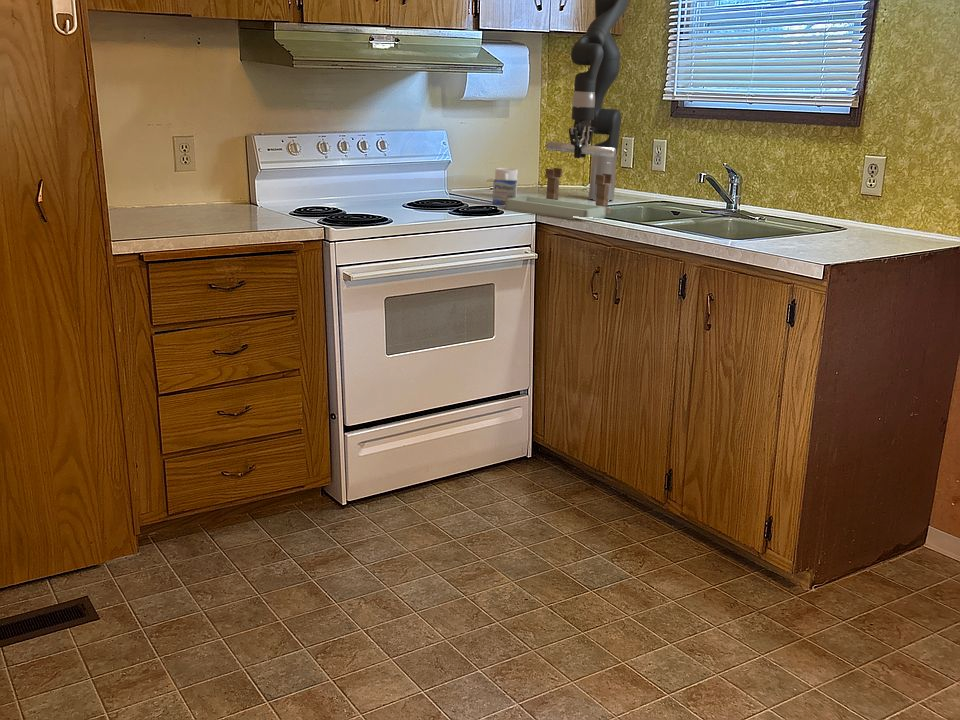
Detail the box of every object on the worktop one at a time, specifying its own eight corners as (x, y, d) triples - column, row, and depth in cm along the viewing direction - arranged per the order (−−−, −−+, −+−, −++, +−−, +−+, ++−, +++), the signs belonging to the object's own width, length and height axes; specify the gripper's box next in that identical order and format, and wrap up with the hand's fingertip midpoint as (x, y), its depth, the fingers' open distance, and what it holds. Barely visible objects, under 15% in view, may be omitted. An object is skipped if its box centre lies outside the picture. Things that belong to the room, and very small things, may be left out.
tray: (525, 205, 326) (526, 195, 325) (605, 217, 308) (606, 206, 307) (504, 209, 316) (505, 198, 315) (585, 221, 298) (586, 210, 297)
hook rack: (551, 204, 332) (553, 167, 328) (610, 212, 318) (613, 174, 314) (542, 206, 327) (544, 168, 323) (601, 214, 314) (605, 175, 310)
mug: (515, 200, 338) (517, 171, 335) (493, 199, 339) (494, 170, 336) (516, 196, 350) (518, 168, 347) (494, 195, 350) (496, 167, 347)
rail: (550, 149, 325) (551, 141, 325) (615, 156, 311) (616, 147, 310) (545, 150, 323) (546, 141, 322) (611, 157, 309) (612, 148, 308)
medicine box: (492, 204, 325) (493, 179, 323) (493, 203, 330) (494, 178, 327) (514, 206, 325) (515, 181, 322) (515, 204, 329) (516, 179, 326)
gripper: (584, 104, 320) (580, 155, 325) (563, 105, 309) (559, 157, 314) (603, 105, 315) (599, 157, 321) (582, 106, 305) (578, 160, 310)
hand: (579, 157), depth 317 cm, fingers closed on rail, 3 cm apart
